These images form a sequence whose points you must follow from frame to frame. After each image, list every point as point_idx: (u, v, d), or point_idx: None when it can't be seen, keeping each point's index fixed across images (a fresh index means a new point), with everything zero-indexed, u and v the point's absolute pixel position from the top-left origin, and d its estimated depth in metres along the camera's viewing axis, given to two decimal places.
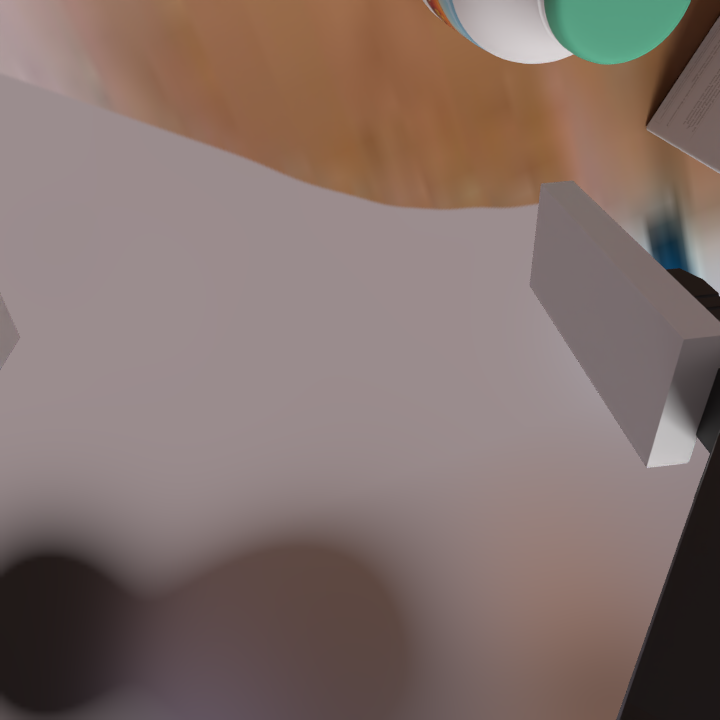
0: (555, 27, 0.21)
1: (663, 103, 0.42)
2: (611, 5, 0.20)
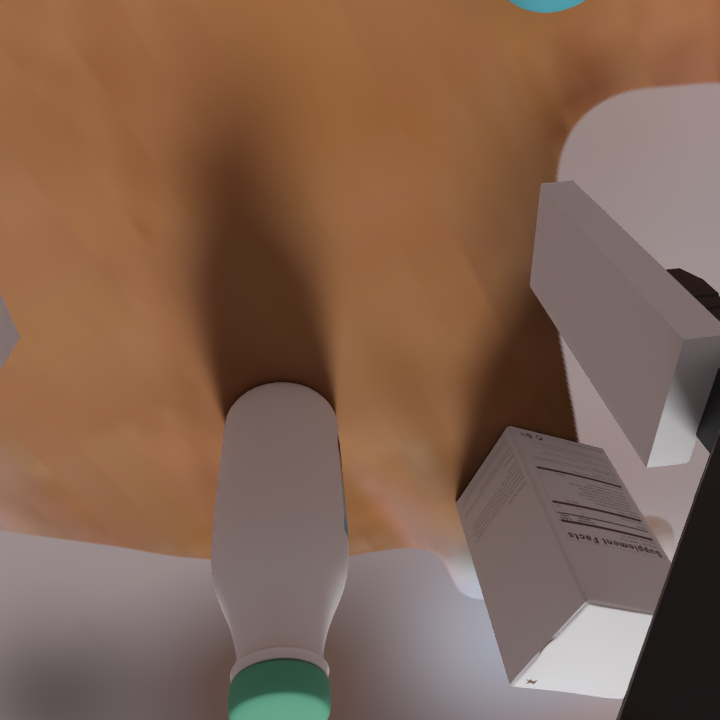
0: None
1: (465, 491, 0.50)
2: None
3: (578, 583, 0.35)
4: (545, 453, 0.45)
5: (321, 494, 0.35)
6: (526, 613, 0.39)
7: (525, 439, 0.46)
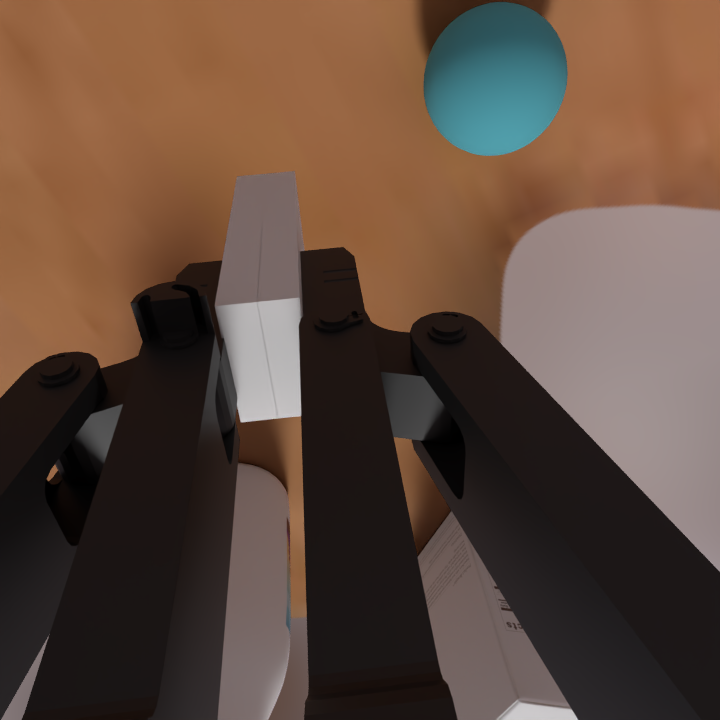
0: None
1: None
2: None
3: (511, 679, 0.37)
4: None
5: (264, 590, 0.36)
6: (464, 699, 0.40)
7: None
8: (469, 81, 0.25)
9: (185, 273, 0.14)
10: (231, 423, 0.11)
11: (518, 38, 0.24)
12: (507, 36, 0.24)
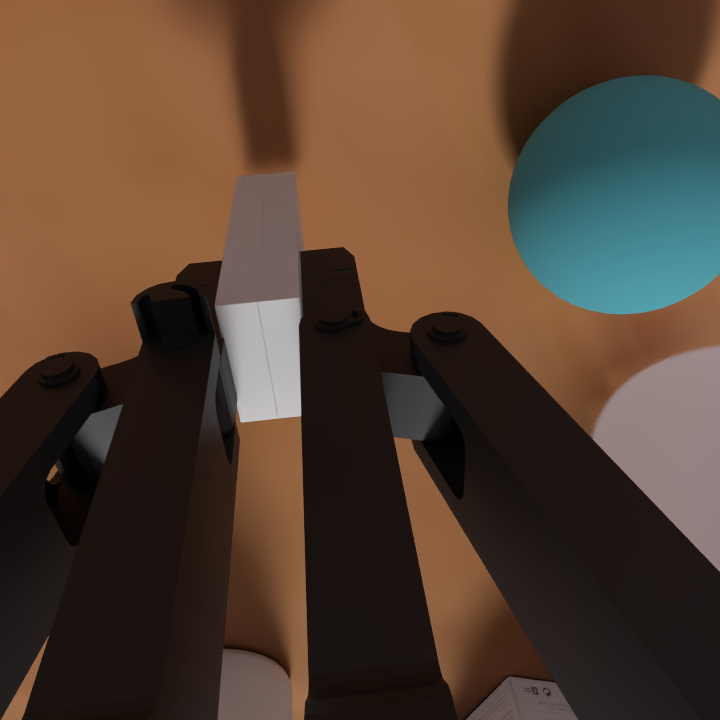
0: None
1: None
2: None
3: None
4: None
5: None
6: None
7: (530, 699, 0.36)
8: (603, 217, 0.14)
9: (186, 273, 0.14)
10: (231, 423, 0.11)
11: (696, 147, 0.14)
12: (677, 143, 0.14)
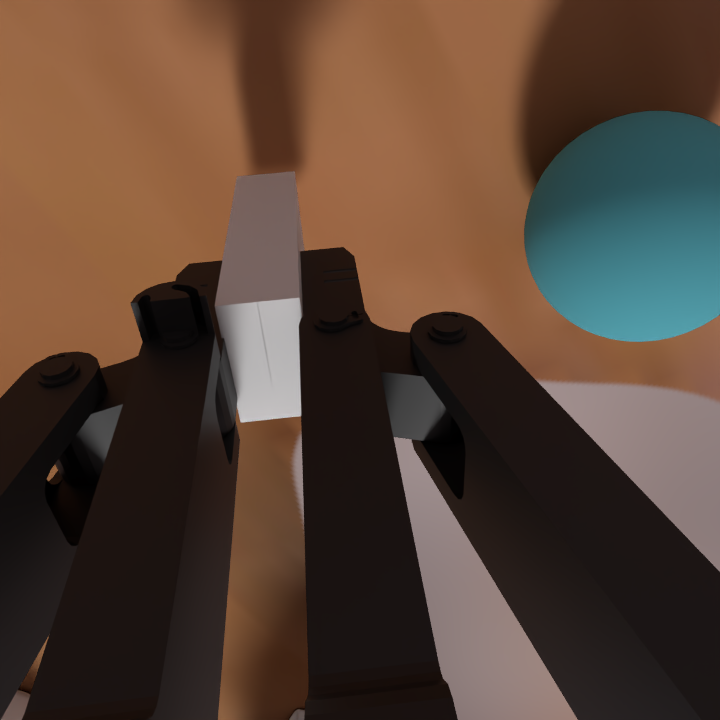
0: None
1: None
2: None
3: None
4: None
5: None
6: None
7: None
8: None
9: (186, 273, 0.14)
10: (231, 423, 0.11)
11: (573, 141, 0.17)
12: (583, 133, 0.17)
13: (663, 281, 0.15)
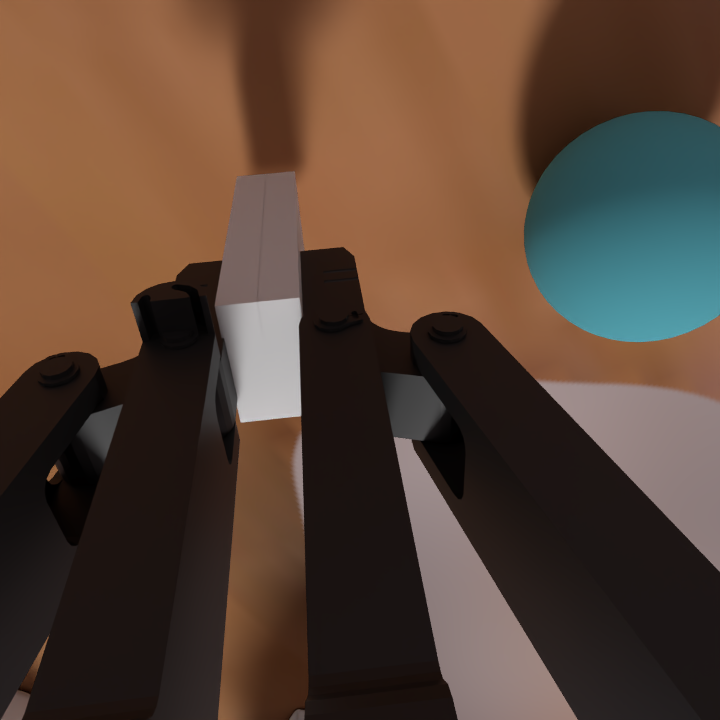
0: None
1: None
2: None
3: None
4: None
5: None
6: None
7: None
8: None
9: (186, 273, 0.14)
10: (231, 423, 0.11)
11: (573, 141, 0.17)
12: (583, 133, 0.17)
13: (662, 282, 0.15)
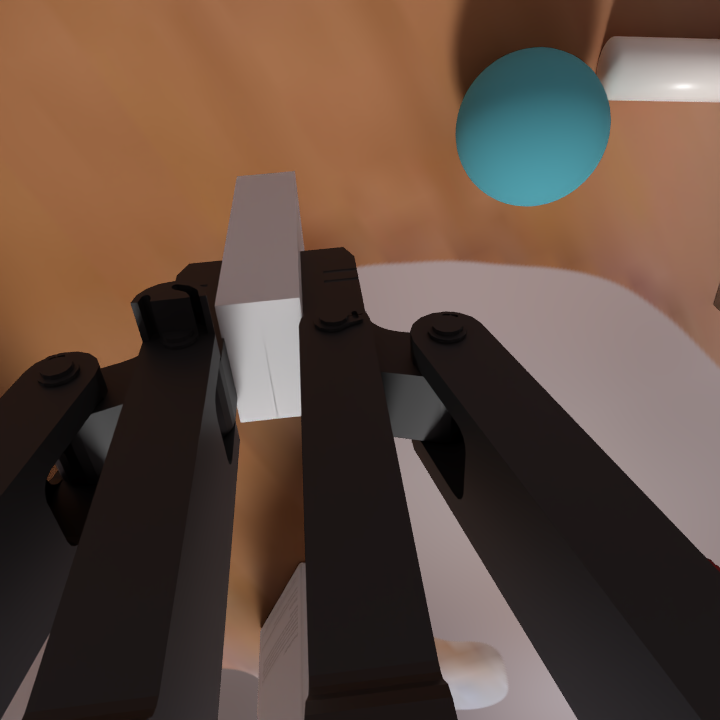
0: None
1: (267, 620, 0.48)
2: None
3: None
4: None
5: (31, 671, 0.33)
6: None
7: None
8: None
9: (186, 273, 0.14)
10: (230, 423, 0.11)
11: None
12: None
13: (533, 151, 0.23)
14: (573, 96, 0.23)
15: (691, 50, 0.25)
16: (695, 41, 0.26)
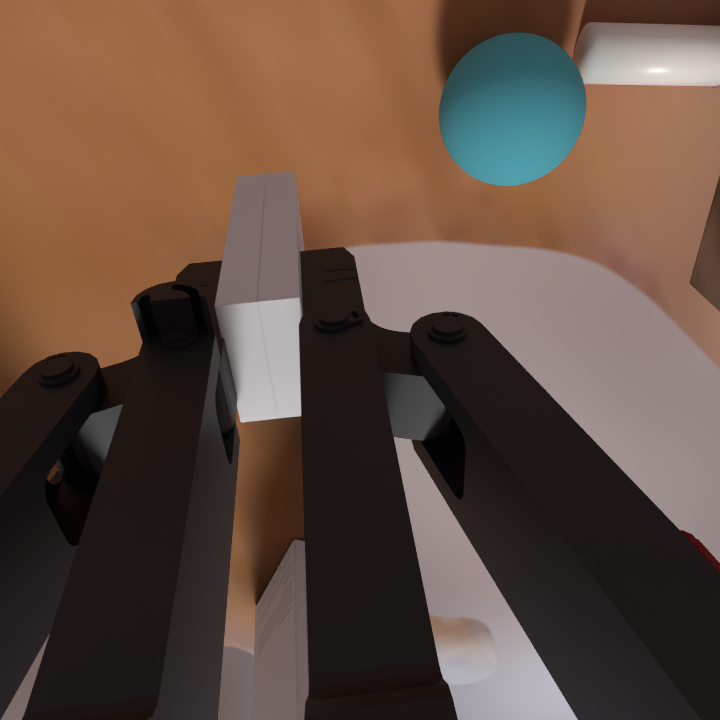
0: None
1: (262, 597, 0.49)
2: None
3: None
4: None
5: None
6: None
7: None
8: None
9: (185, 273, 0.14)
10: (231, 423, 0.11)
11: None
12: None
13: (511, 131, 0.24)
14: (549, 79, 0.24)
15: (663, 35, 0.27)
16: (666, 27, 0.27)
